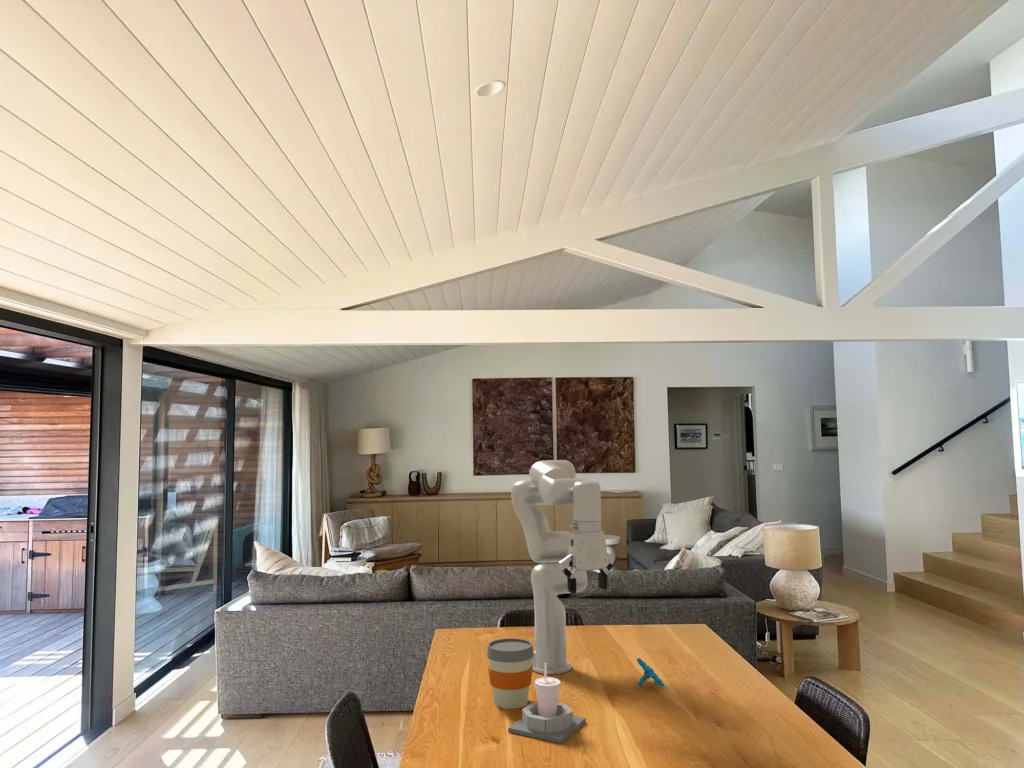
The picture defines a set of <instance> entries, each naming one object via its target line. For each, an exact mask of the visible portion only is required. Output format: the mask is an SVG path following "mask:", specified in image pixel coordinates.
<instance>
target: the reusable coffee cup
mask: <svg viewBox="0 0 1024 768" xmlns="http://www.w3.org/2000/svg"><path fill="white" fill-rule="evenodd" d="M486 651H487V652H486V658H488V665H487V670H488V671H487V672H488V677H489V685H490V686H491V690H492V698H493V705H495V706H496V707H497V708H501V709H509V710H510V709H511V710H513V709H520V708H524V707H526V706H527V705H528V700H529V692H530V691H529V690H530V685H531V684H532V678H533V677H532V676H533V670H532V669H533V665H532V657H533V656H534V654H533V651H534V646H533V643H532V642H531V641H530V640H526V639H523V638H517V637H515V638H514V637H513V638H512V637H511V638H510V637H509V638H500V639H494V640H492V641H489V643H488V644H487V650H486Z"/></svg>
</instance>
